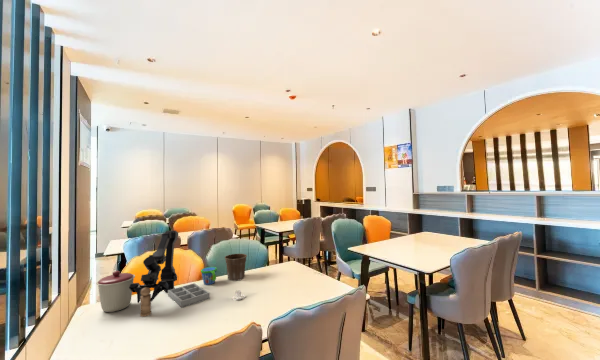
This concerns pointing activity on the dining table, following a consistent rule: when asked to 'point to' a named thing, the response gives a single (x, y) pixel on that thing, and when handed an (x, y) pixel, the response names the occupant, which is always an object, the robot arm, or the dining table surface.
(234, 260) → the plant pot
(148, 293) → the skittle
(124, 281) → the canister
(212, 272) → the snack cup
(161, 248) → the robot arm
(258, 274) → the dining table surface
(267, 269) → the dining table surface
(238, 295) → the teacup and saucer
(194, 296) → the tray
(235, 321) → the dining table surface
